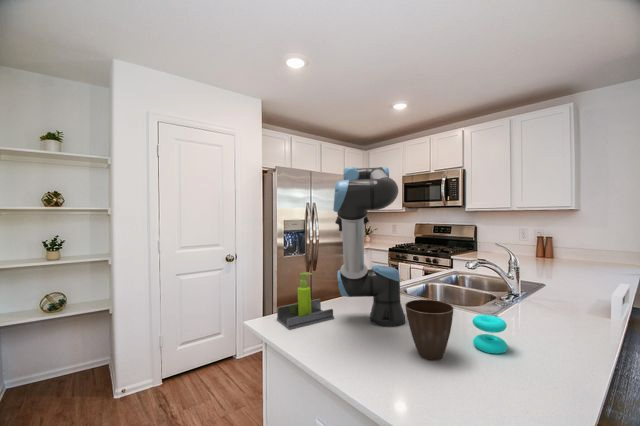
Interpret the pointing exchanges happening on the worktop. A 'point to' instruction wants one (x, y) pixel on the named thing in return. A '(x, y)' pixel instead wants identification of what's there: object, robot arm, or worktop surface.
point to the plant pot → (430, 326)
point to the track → (291, 319)
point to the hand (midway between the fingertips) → (353, 236)
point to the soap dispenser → (304, 296)
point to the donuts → (489, 341)
